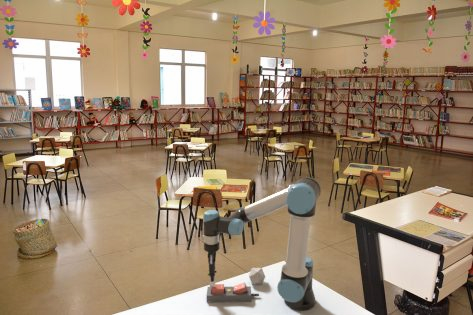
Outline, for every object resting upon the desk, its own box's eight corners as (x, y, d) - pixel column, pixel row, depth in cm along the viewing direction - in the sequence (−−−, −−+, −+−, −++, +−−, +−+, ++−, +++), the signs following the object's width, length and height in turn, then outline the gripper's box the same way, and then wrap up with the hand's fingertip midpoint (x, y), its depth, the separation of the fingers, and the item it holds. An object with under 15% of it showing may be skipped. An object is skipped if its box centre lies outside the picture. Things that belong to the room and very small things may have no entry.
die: (260, 290, 194) (269, 273, 195) (245, 281, 194) (255, 264, 196) (258, 287, 202) (268, 271, 204) (244, 278, 203) (254, 262, 204)
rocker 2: (246, 286, 188) (244, 282, 187) (246, 291, 183) (244, 287, 183) (235, 290, 188) (233, 286, 188) (235, 295, 184) (233, 290, 183)
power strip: (258, 292, 190) (258, 285, 190) (259, 301, 183) (259, 294, 182) (207, 292, 190) (207, 286, 190) (206, 302, 183) (206, 294, 182)
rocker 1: (224, 288, 188) (224, 284, 188) (223, 293, 184) (223, 288, 183) (212, 288, 188) (212, 284, 188) (211, 293, 184) (211, 289, 183)
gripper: (204, 236, 187) (206, 279, 192) (202, 247, 174) (203, 293, 179) (219, 236, 187) (220, 279, 192) (218, 247, 174) (219, 293, 179)
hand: (212, 285), depth 185 cm, fingers closed
